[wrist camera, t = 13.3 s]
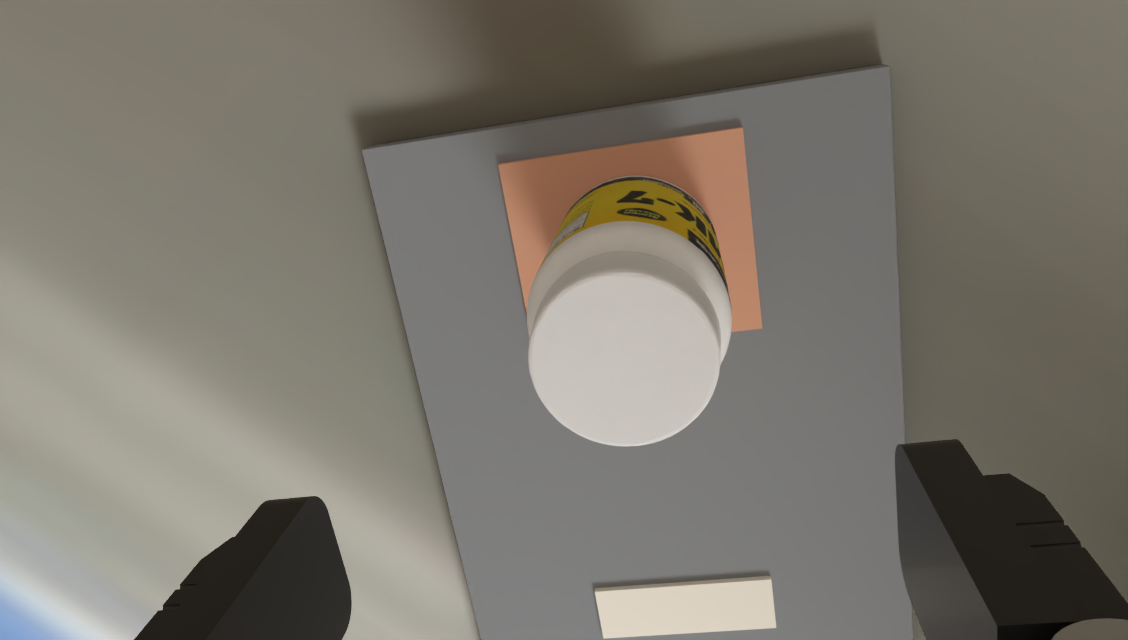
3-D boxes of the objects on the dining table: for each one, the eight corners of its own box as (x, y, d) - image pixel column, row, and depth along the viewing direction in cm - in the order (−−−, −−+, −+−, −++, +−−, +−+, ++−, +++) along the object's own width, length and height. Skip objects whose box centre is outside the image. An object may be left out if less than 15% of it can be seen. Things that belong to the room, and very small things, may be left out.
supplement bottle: (752, 237, 25) (792, 348, 17) (652, 356, 27) (646, 506, 19) (619, 137, 24) (598, 204, 16) (525, 264, 26) (464, 380, 18)
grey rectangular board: (882, 64, 24) (891, 66, 23) (907, 646, 30) (915, 667, 29) (370, 145, 26) (359, 151, 25) (496, 670, 33) (491, 689, 32)
